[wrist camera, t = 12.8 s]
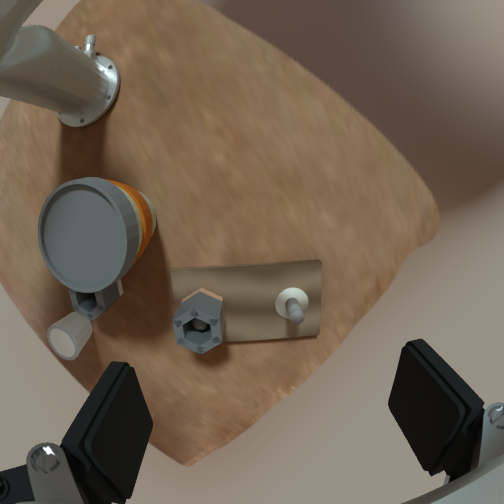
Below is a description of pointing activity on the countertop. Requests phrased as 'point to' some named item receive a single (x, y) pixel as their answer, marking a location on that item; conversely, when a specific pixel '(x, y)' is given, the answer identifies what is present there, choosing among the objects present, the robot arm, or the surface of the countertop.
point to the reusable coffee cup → (94, 232)
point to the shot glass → (69, 335)
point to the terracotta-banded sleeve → (202, 308)
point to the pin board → (258, 297)
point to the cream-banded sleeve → (95, 300)
